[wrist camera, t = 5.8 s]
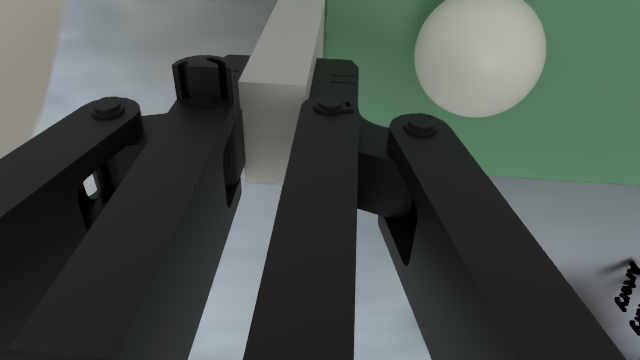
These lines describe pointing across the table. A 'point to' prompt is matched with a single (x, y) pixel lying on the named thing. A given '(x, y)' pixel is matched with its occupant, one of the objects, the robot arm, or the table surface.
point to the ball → (480, 55)
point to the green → (532, 111)
